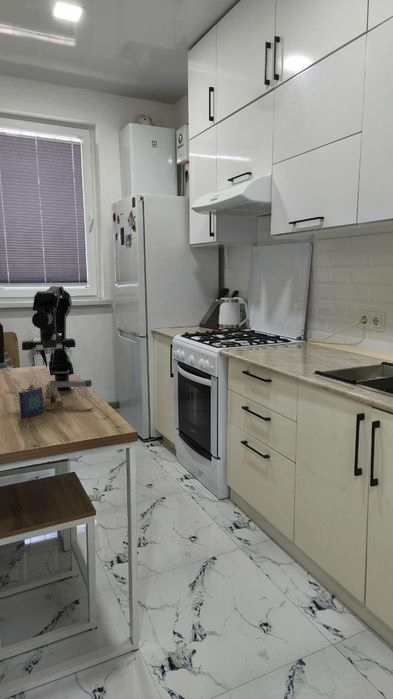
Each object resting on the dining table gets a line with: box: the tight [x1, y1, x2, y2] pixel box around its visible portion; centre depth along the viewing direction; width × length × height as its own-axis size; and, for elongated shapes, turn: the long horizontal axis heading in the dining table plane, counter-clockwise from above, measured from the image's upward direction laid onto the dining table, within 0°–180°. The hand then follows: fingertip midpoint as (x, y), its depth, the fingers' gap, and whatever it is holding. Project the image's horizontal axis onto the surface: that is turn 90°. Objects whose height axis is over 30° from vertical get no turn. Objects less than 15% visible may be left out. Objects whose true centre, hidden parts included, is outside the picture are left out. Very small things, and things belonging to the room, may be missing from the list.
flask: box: [18, 384, 45, 420], centre depth 153 cm, size 9×3×11 cm, turn 152°
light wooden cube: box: [44, 379, 58, 398], centre depth 171 cm, size 6×4×5 cm, turn 20°
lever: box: [49, 379, 93, 402], centre depth 163 cm, size 15×2×7 cm, turn 96°
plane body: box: [42, 390, 63, 411], centre depth 169 cm, size 19×6×5 cm, turn 20°
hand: (50, 366), depth 170 cm, fingers open, 2 cm apart
